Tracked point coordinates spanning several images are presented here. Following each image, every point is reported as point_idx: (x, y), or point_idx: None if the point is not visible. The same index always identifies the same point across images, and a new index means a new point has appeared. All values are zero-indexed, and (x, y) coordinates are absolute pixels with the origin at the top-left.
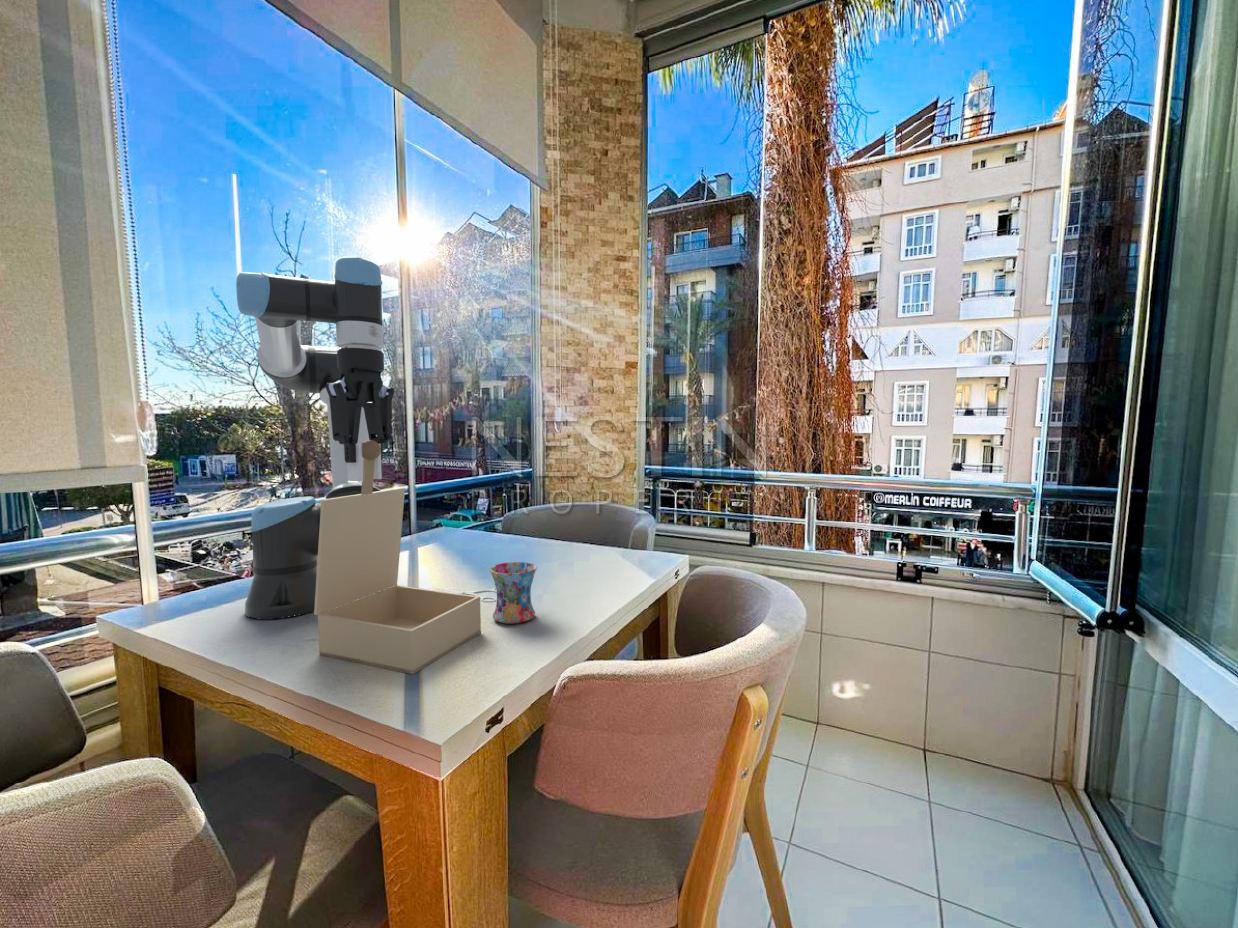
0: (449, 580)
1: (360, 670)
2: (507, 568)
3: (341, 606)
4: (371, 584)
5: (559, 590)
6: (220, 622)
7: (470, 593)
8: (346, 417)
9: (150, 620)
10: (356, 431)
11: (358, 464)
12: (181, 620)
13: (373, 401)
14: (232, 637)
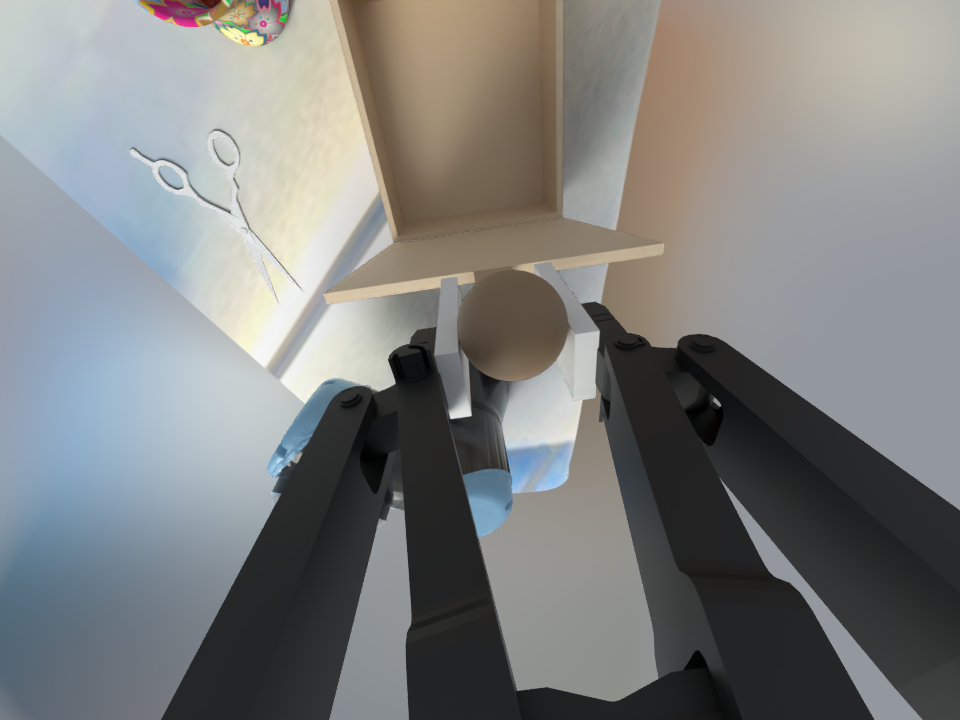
0: (230, 312)
1: (563, 88)
2: (160, 1)
3: (518, 222)
4: (454, 236)
5: (23, 17)
6: (527, 403)
7: (237, 213)
8: (802, 440)
9: (553, 454)
10: (638, 380)
11: (569, 289)
12: (540, 435)
13: (514, 688)
14: None
